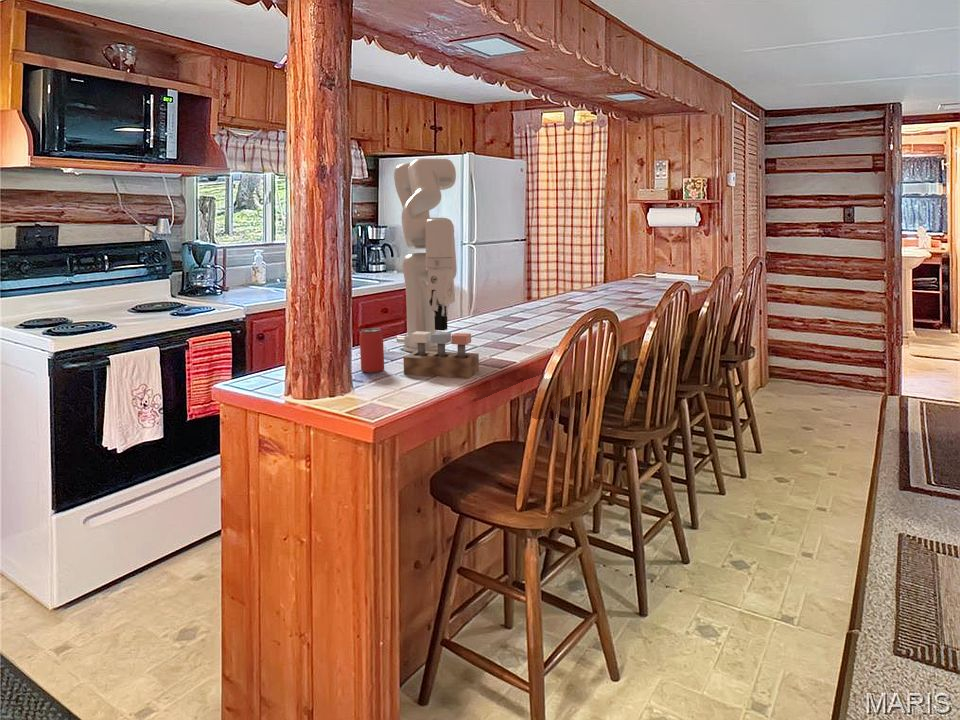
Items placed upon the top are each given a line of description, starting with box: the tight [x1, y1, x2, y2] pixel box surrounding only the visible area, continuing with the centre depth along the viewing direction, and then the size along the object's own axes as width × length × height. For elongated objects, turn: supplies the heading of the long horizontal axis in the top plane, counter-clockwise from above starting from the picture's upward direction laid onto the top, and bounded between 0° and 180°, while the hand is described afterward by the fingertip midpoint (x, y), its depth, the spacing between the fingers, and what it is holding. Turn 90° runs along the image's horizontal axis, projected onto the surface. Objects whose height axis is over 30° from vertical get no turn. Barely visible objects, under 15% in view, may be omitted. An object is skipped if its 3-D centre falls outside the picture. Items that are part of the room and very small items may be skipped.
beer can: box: [359, 327, 385, 374], centre depth 205 cm, size 7×7×12 cm
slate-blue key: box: [431, 331, 452, 357], centre depth 202 cm, size 4×4×7 cm
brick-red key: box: [450, 332, 472, 358], centre depth 201 cm, size 4×4×7 cm
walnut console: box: [403, 350, 480, 379], centre depth 203 cm, size 19×10×5 cm, turn 73°
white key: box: [411, 331, 431, 356], centre depth 204 cm, size 4×4×7 cm
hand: (441, 329), depth 201 cm, fingers closed
